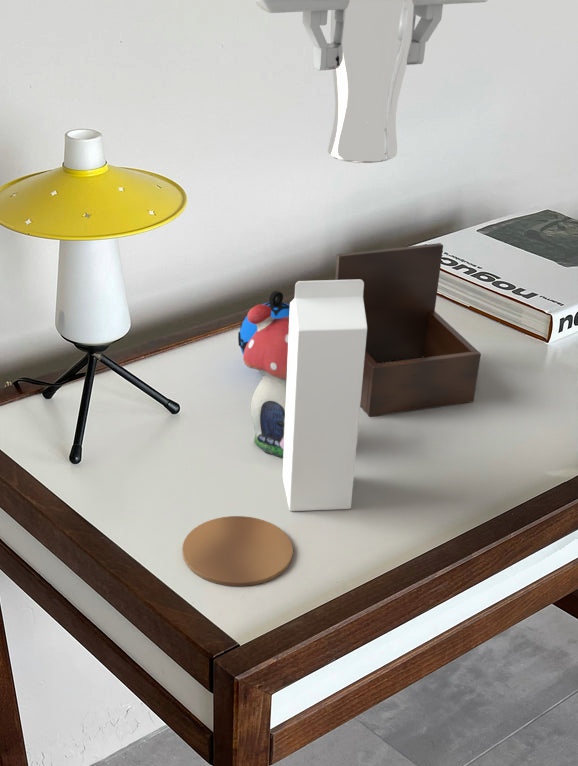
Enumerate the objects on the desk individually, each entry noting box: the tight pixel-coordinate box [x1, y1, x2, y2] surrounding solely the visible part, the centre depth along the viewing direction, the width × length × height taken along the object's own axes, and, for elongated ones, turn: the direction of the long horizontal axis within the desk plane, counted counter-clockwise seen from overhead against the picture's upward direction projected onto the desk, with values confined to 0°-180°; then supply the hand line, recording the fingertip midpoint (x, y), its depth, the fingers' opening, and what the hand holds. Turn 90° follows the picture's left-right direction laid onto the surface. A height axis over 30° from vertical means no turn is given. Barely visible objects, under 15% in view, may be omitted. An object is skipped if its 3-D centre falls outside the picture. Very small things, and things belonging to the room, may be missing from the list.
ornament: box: [237, 290, 290, 355], centre depth 118 cm, size 9×9×10 cm
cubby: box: [334, 242, 482, 417], centre depth 114 cm, size 13×13×14 cm
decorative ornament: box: [242, 303, 289, 459], centre depth 103 cm, size 9×6×15 cm
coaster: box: [181, 515, 294, 587], centre depth 92 cm, size 10×10×1 cm
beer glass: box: [326, 0, 417, 164], centre depth 85 cm, size 7×7×15 cm
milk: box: [282, 279, 367, 512], centre depth 93 cm, size 6×6×22 cm
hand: (368, 66), depth 85 cm, fingers closed on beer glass, 6 cm apart
